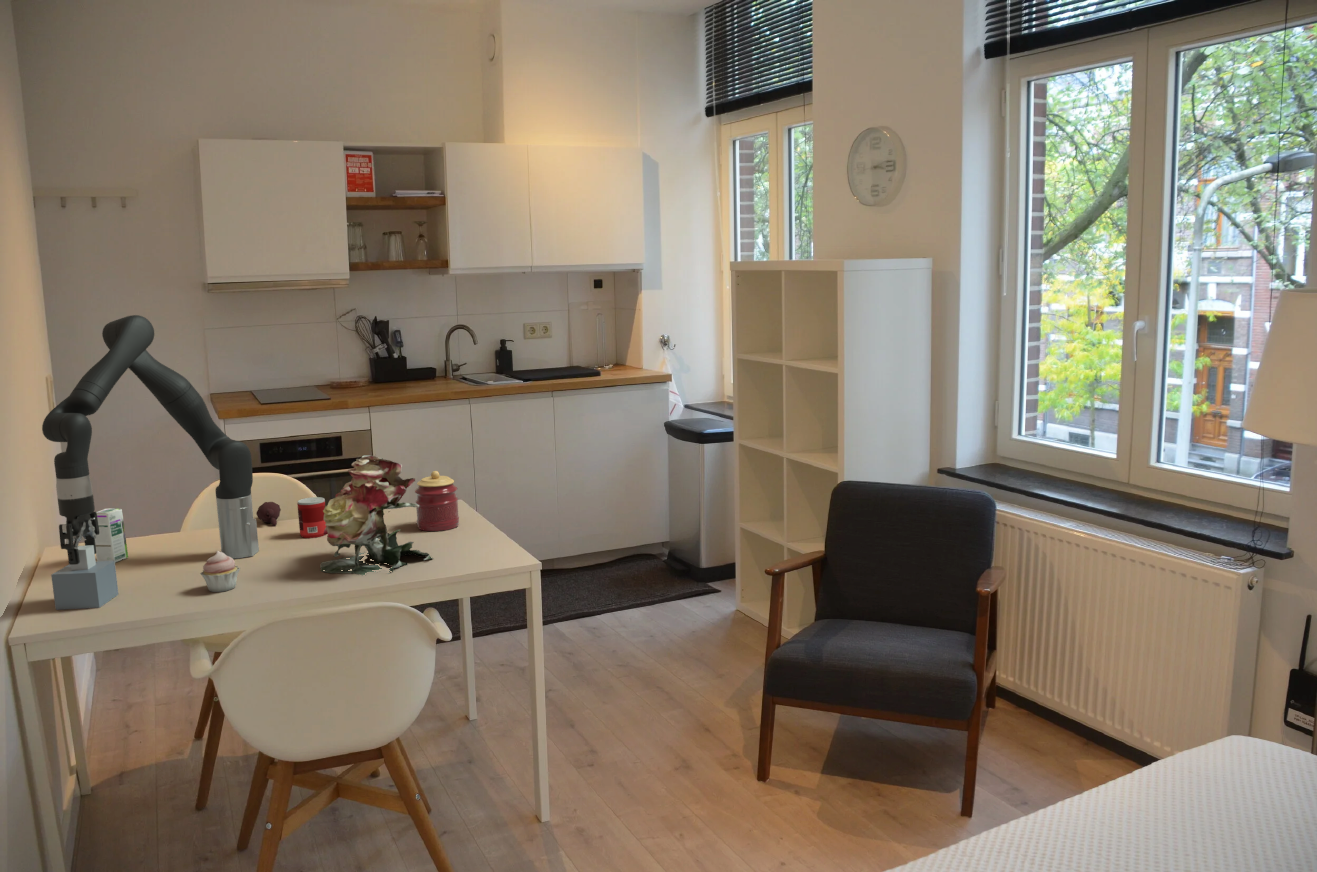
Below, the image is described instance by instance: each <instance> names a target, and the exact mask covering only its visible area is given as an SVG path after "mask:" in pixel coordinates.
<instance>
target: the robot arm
mask: <svg viewBox="0 0 1317 872" xmlns="http://www.w3.org/2000/svg"><path fill="white" fill-rule="evenodd" d="M101 334H102V339H103V342H104V345H106V347H107V349H108V351H107V353H106V354H105V355H104V356H103V357H102V358H101V359H100V360H98V361H97V362H96V363H95V364H94V365H93V366H92V367H91V368H90V369H88V370H87V372H85V373H84V375H83V376H82V377H81V378H80V379H79V381H78V383H77V384H76V385H75V387H74V388H73V390H72V391H71V393H70V394H69V395H68V396H67V397H66V398H64V399H63V400H62V401H61V402H60V403H59V404H57V405H56V406H55V407H53V408H52V409H51V410H50V411H49V412H48V413H47V414H46V416H45V417H44V418H43V422H42V425H41V429H42V430H41V431H42V434H43V436H44V437H45V438H46V439H47V440H48V441H51V442H54V443H67V444H66V448H65V449H66V450H65V451H62V452H60V453H57V454H56V455H55V456H54V460H53V462H54V469H55V470H54V472H55V480H56V481H55V482H56V484H55V488H56V489H55V490H56V496H57V504H58V513H59V515H60V516H61V517H65V518H66V519H65V520H66V521H65V523H62V524H61V523H60V524H58V532H59V541H60V543H59V544H60V549H61V550H66V551H67V552H66V553H67V560H68V565H69V564H70V565H75V564H79V563H80V560H79V552H78V549H77V548H78V546H79V545H80V544H79V543H80V541H81V540H82V539H84V546H87V545H94V553H95V555H96V545H95V539H96V535H99V525H98V519H97V513H96V512H97V511H96V507H95V502H94V501H95V499H94V491H93V484H92V480H91V475H90V469H89V468H90V467H89V459H88V458H89V453H90V446H91V440H92V436H93V428H92V427H93V426H92V424H91V421H90V419H89V418H88V416H92V415H94V414H95V413H97V412H98V410H100V408H101V406H102V404H103V403H104V402H105V400H106V399H107V397H108V395H109V394H110V393H111V392H112V390H113V388H114V387H115V386H116V384H117V382H118V381H119V380H120V378H121V377H122V376H123V375H124V374H125V373H126V371H128V369H129V370H130V371H131V372H132V373H133V374H134V375H135V376H136V377H137V378H138V379H139V381H141V383H142V384H143V385H144V386H145V387H146V388H147V389H148V390H149V392H150V393H151V394H152V395H153V396H154V397H155V399H157V400H156V401H158V402H159V404H160V405H161V406H162V407H163V408H164V409H165V410H166V412H167V414H169V415H170V416H171V417H172V419H174V421H176V423H177V424H179V426H180V427H181V428H182V429H183V430H184V431H185V432H186V433H187V434H188V435H189V436H190V437H191V438H192V439H193V441H194V442H195V444H196V445H197V446H198V447H199V449H200V450H201V452H202V454H203V455H204V457H205V459H207V461H208V462H209V464H210V465H211V466H212V467H213V468H214V469H216V470H218V472H219V473H218V475H219V484H218V485H217V486H216V487H215V502H216V511H217V521H218V522H217V523H218V531H219V540H220V552H222V553H224V554H225V555H226V556H229V557H231V558H233V559H234V560H235V559H242V558H243V559H244V558H247V557H248V558H249V557H254V555H256V554H257V553H258V552H260V547H259V536H258V525H257V519H256V518H254V511H253V500H252V499H253V498H252V486H253V482H254V481H253V480H254V479H253V462H252V461H253V460H252V454H251V450H250V448H249V446H248V445H247V444H246V443H244V442H242V441H239V440H235V439H232V438H230V437H229V436H228V435H227V434H226V433H225V432H224V431H223V430H222V429H221V428H220V427H219V426H218V425H217V424H216V422H215V421H214V420H213V418H212V416H211V413H210V411H209V409H208V407H207V404H206V403H205V400H204V398H203V397H202V396H201V394H200V392H198V390H197V389H196V388H195V386H193V384H192V383H191V382H190V380H189V379H188V378H186V377H185V376H183V375H181V374H180V373H179V372H177V371H175V370H174V369H172V368H170V367H168V366H166V365H165V364H164V363H161V362H160V361H158V360H157V359H156V358H154V357H153V356H152V355H151V354H150V352H149V351H148V350H147V349H148V348H149V347H150V346H151V344H152V343H153V341H154V339H155V338H154V337H155V329H154V326H153V324H152V322H151V321H150V320H149V319H148V318H146V317H145V316H142V315H140V314H139V315H138V314H135V315H134V314H133V315H127V316H124V317H121V318H119V319H116V320H112V321H110V322H108V323H106V324H105V325H104V327H103V329H102V333H101ZM93 526H94V527H95V529H94V527H93Z"/></svg>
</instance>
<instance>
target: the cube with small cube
mask: <svg viewBox="0 0 1317 872" xmlns="http://www.w3.org/2000/svg"><path fill="white" fill-rule="evenodd" d="M77 549H78V552H79V560H80V563H79V564H75V565H70V564H69V563H68V565H65V566H64V567H62V568H60V569H59V570H56V572H53V573H52V574H51V575H50V576H51V582H52V593H53V600H54V608H55V610H56V611H57V610H60V611H61V610H78V609H79V610H81V609H98V608H99V609H100V608H101V607H103V606H104V605H106V604H107V603H108V602H110V601H111V600H112V598H113V599H114V598H115V597H117V596H118V595H119V588H118V586H119V585H118V579H117V578H118V577H117V571H116V569H117V568H116V563H115V561H97V560H96V554H95V553H94V545H87V546H85V545H78V548H77Z"/></svg>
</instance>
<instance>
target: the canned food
mask: <svg viewBox="0 0 1317 872" xmlns="http://www.w3.org/2000/svg"><path fill="white" fill-rule="evenodd" d="M296 502H297V503H296V504H297V513H298V516H297V517H298V524H299V525H298V527H299V534H300V537H301V538H303V539H317V538H321V537H324V536H326V535H327V534H325V535H324V534H323V533H324V530H325V528H326V525H325V524H326V522H325V521H324V520H323V519H324V512H323V510H324V508H325V506H326V500H325V498H324V497H319V496H317V497H313V496H312V497H305V498H302V499H299V500H297V501H296Z"/></svg>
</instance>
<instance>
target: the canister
mask: <svg viewBox="0 0 1317 872" xmlns="http://www.w3.org/2000/svg"><path fill="white" fill-rule="evenodd" d="M454 483H455V479H452V477H450V476H447V475H440V473H439V471H438V470H433V471H432V472H431V474H430V476H426V477H423V478H421V480H418V482H417V483H416V484H417V488H416V489H415V490H414V493H415V494H416V500H415V504H417V505H419V507H415V508H416V525H417V528H418V529H419V530H421V531H426V532H441V531H447V530H452V529H455V528H458V527H459V525H460V516H459V515H460V514H459V503H458V502H459V501H458V500H459V498H458V496H457V491H458V486H456V485H454ZM438 508H439V509H438Z"/></svg>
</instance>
